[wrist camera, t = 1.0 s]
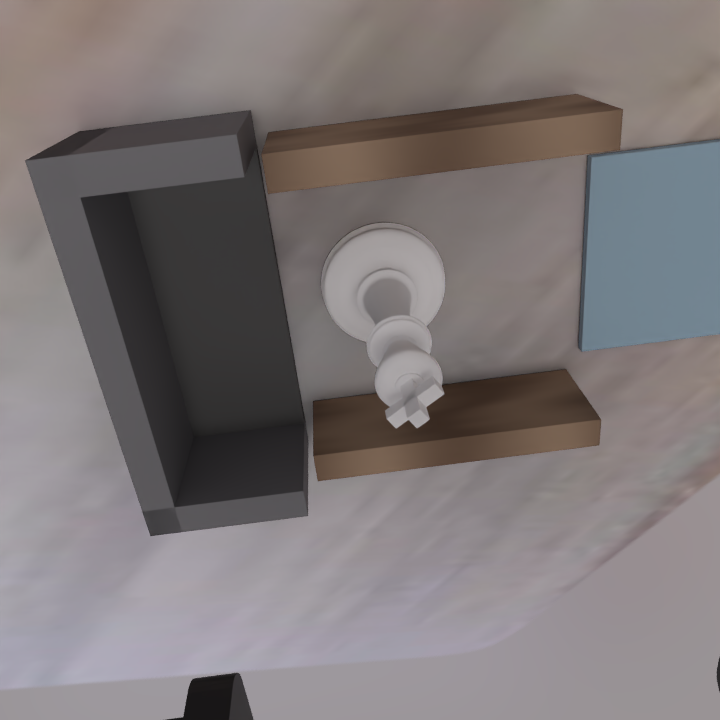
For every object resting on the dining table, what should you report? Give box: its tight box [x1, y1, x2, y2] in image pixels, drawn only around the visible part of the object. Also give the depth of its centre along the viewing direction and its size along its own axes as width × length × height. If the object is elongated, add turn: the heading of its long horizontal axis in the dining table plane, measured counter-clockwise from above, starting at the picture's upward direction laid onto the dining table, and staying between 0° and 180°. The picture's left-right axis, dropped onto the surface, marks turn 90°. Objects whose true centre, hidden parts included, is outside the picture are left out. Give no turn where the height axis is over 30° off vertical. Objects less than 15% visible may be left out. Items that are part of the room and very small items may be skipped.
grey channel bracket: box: [25, 110, 308, 536], centre depth 25 cm, size 6×14×5 cm, turn 6°
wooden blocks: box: [261, 94, 623, 481], centre depth 25 cm, size 11×12×4 cm
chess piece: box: [321, 223, 445, 428], centre depth 22 cm, size 5×5×10 cm
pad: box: [579, 139, 720, 351], centre depth 27 cm, size 8×8×1 cm
